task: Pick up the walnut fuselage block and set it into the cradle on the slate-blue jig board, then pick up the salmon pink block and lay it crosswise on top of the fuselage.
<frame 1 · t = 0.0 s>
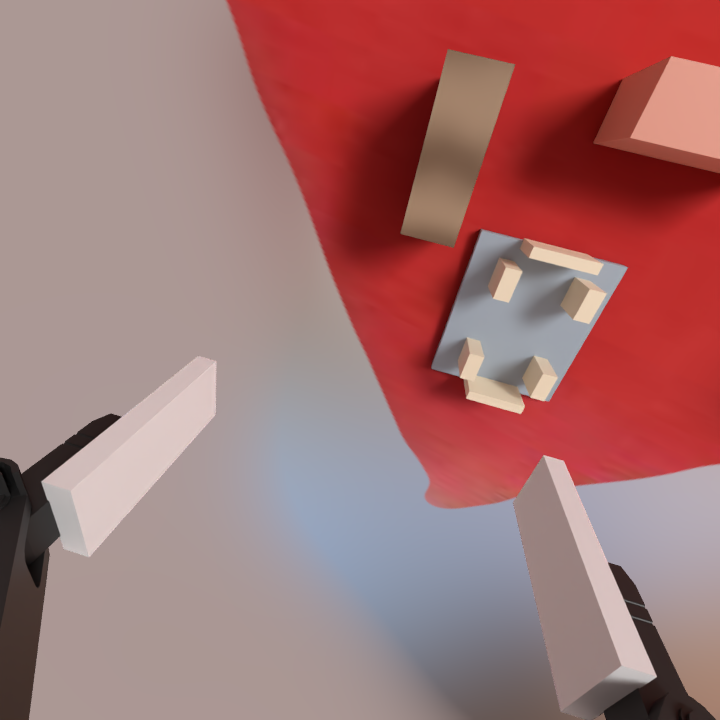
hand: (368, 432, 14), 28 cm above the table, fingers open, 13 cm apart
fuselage: (447, 160, 34), on the table
salmon pink block: (685, 130, 30), on the table
jig: (516, 320, 39), on the table
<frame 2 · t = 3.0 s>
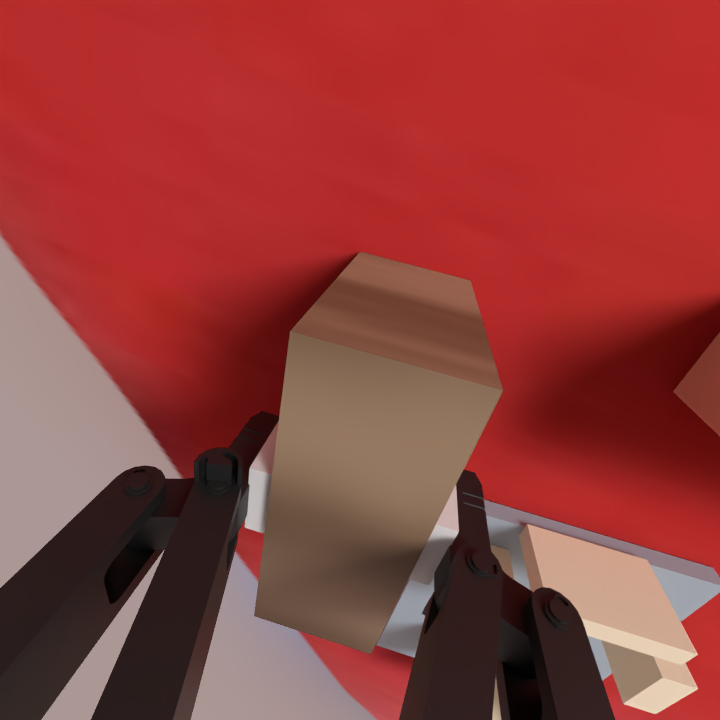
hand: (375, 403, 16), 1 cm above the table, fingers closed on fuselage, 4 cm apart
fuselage: (379, 388, 17), on the table, touching gripper
jig: (513, 604, 23), on the table
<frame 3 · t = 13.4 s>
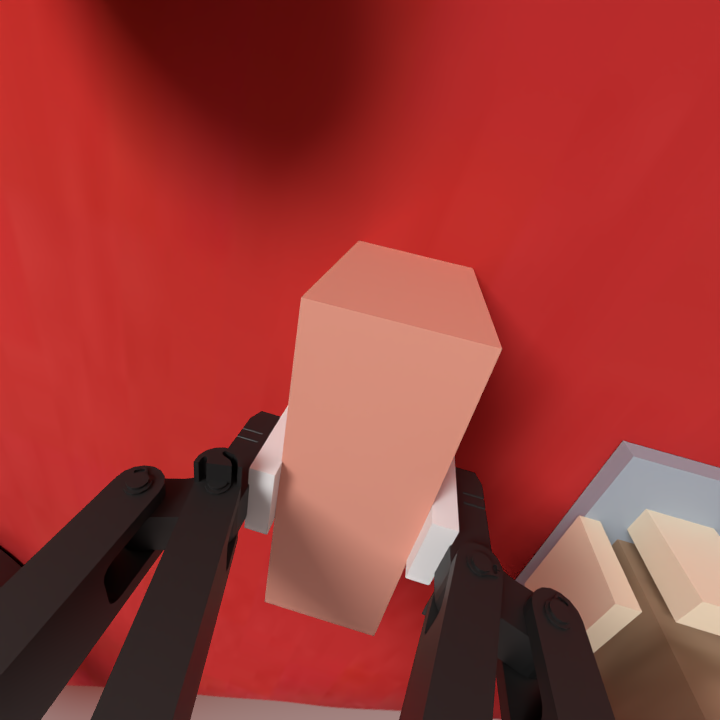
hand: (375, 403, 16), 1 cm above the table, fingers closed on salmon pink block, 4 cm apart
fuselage: (712, 601, 18), point 1 cm above the table, touching jig
salmon pink block: (378, 390, 17), on the table, touching gripper
jig: (700, 581, 19), on the table
when the fingers open (11 cm above the table, at t = 17.7 s): salmon pink block drops 1 cm, resting on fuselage.
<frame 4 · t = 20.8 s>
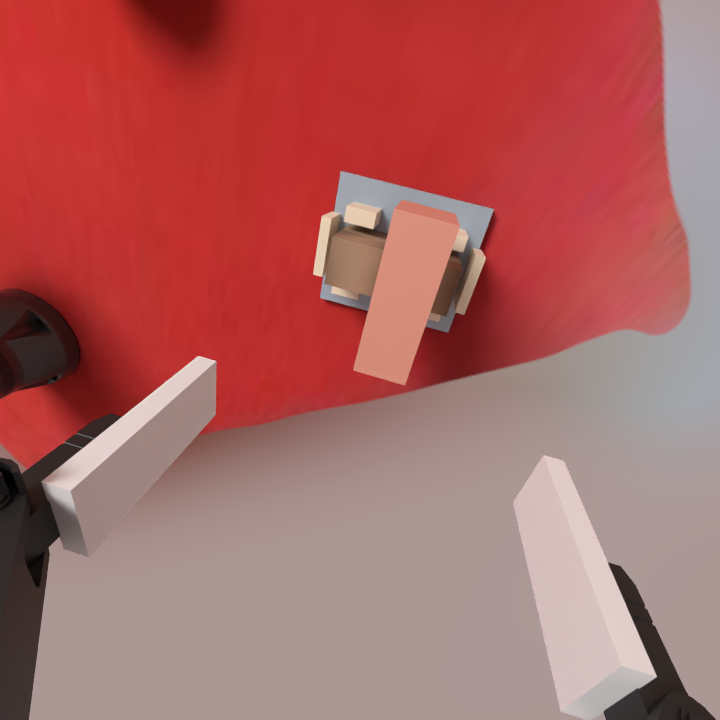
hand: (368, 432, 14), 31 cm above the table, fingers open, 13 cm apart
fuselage: (398, 258, 40), point 1 cm above the table, touching jig, salmon pink block
salmon pink block: (406, 281, 33), point 9 cm above the table, touching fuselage
jig: (399, 256, 41), on the table
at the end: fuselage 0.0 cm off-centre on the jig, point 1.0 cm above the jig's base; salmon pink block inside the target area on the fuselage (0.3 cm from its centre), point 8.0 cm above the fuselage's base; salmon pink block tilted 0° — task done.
